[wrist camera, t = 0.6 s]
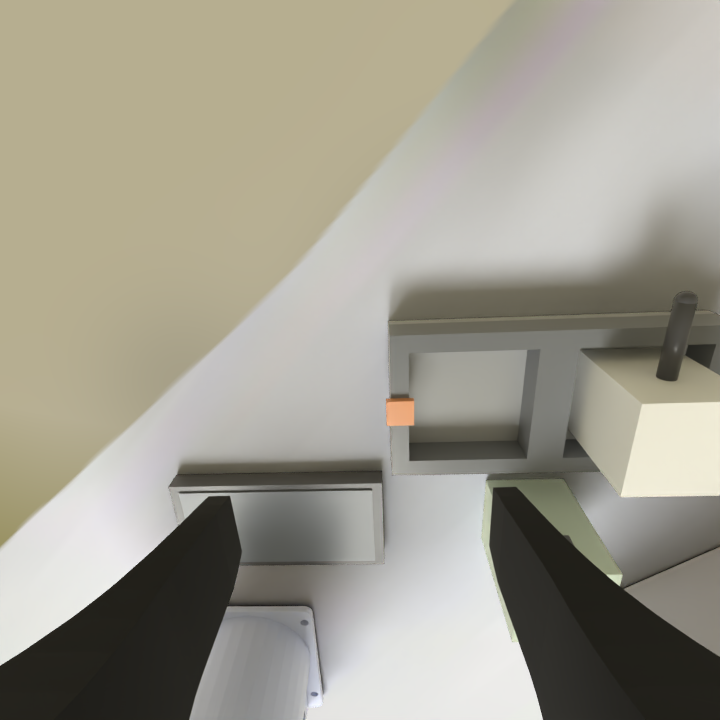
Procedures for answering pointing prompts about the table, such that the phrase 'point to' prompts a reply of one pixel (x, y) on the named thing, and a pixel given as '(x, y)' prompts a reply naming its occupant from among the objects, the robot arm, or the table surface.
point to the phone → (295, 514)
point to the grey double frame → (507, 387)
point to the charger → (563, 515)
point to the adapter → (651, 414)
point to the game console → (687, 598)
